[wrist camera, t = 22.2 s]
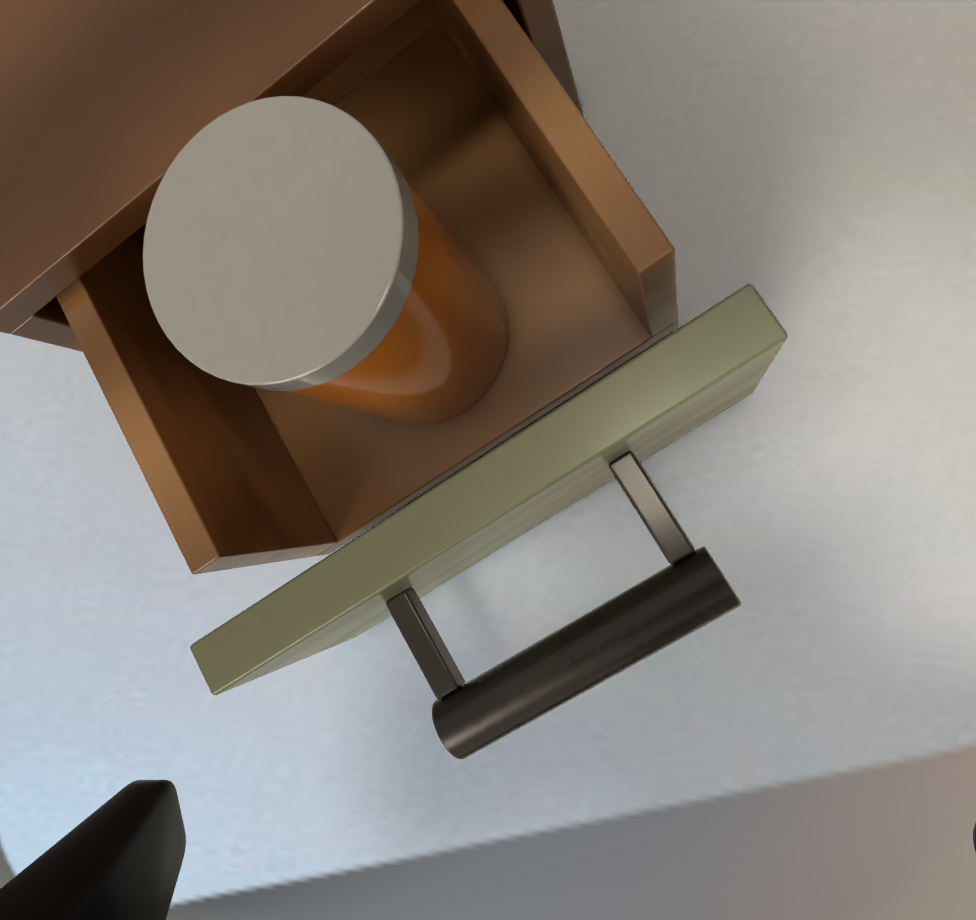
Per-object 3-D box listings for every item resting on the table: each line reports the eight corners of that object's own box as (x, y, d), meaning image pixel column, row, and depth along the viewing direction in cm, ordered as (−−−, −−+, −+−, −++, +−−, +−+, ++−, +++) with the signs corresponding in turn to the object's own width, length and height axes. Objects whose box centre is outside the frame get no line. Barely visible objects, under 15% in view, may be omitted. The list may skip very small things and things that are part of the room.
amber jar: (550, 344, 20) (463, 243, 12) (408, 466, 20) (241, 445, 13) (437, 208, 21) (289, 35, 13) (306, 329, 22) (95, 235, 14)
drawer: (841, 519, 19) (927, 529, 12) (417, 757, 21) (296, 874, 15) (479, -9, 22) (390, -225, 15) (151, 253, 24) (-44, 164, 18)
